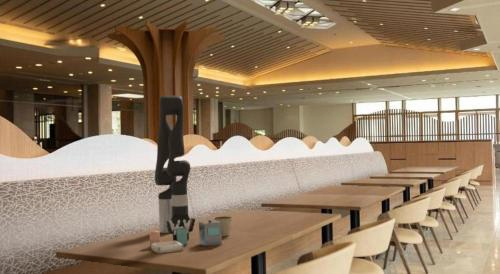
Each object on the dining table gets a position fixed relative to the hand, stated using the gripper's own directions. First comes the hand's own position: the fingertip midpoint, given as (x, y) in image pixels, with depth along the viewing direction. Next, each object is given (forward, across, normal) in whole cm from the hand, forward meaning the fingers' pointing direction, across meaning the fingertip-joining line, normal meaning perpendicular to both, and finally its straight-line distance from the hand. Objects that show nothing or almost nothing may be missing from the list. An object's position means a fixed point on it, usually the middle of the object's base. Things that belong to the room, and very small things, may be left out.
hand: (181, 241), depth 234 cm
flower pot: (+1, -24, -8) cm, 25 cm away
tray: (+1, +9, +9) cm, 13 cm away
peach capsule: (+1, +12, 0) cm, 12 cm away
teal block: (+1, 0, 0) cm, 1 cm away
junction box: (+1, -11, +9) cm, 14 cm away
